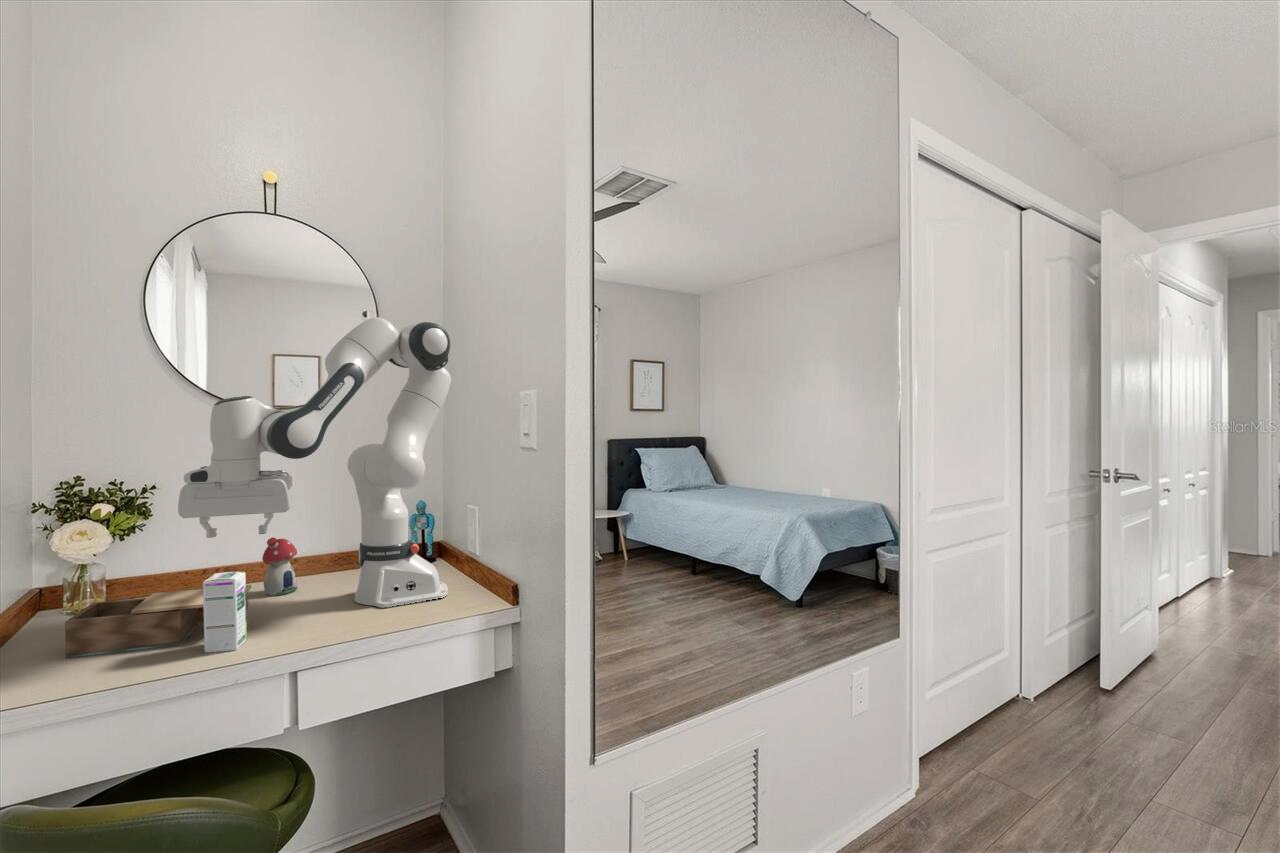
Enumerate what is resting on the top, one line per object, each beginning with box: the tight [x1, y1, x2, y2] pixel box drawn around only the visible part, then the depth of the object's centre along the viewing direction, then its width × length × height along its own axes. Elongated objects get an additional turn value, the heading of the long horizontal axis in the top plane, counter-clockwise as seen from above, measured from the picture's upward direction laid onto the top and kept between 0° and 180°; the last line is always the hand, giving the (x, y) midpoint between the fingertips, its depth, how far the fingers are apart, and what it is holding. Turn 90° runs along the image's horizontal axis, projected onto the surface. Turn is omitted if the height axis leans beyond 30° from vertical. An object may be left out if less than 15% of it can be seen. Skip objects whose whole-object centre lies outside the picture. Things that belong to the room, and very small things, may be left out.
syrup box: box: [202, 571, 248, 653], centre depth 120 cm, size 6×6×14 cm
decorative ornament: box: [262, 537, 299, 597], centre depth 155 cm, size 9×7×15 cm
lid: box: [131, 584, 252, 614], centre depth 127 cm, size 18×12×5 cm, turn 113°
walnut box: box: [64, 597, 199, 659], centre depth 123 cm, size 18×12×7 cm, turn 113°
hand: (237, 535), depth 129 cm, fingers open, 8 cm apart
